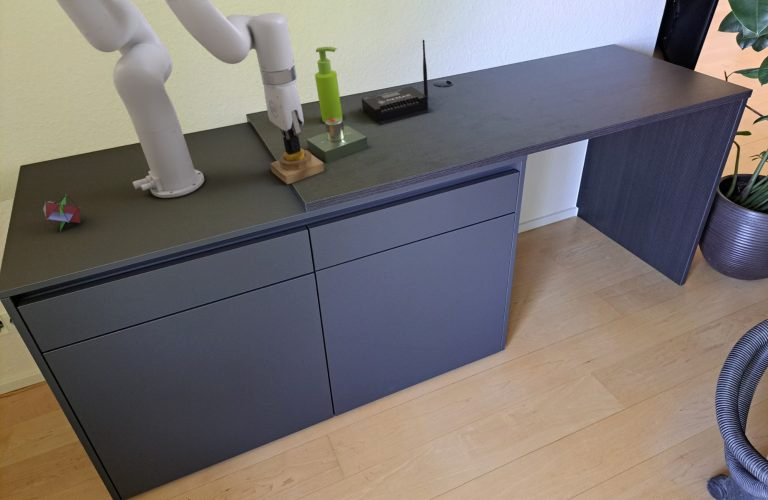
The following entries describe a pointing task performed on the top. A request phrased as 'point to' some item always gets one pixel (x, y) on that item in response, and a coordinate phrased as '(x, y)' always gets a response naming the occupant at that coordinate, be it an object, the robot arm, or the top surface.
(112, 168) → the top surface
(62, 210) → the geometric puzzle
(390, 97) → the wireless controller
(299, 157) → the round yellow button
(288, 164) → the button housing
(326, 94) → the soap dispenser
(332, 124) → the dial
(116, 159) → the top surface
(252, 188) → the top surface
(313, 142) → the dial panel
